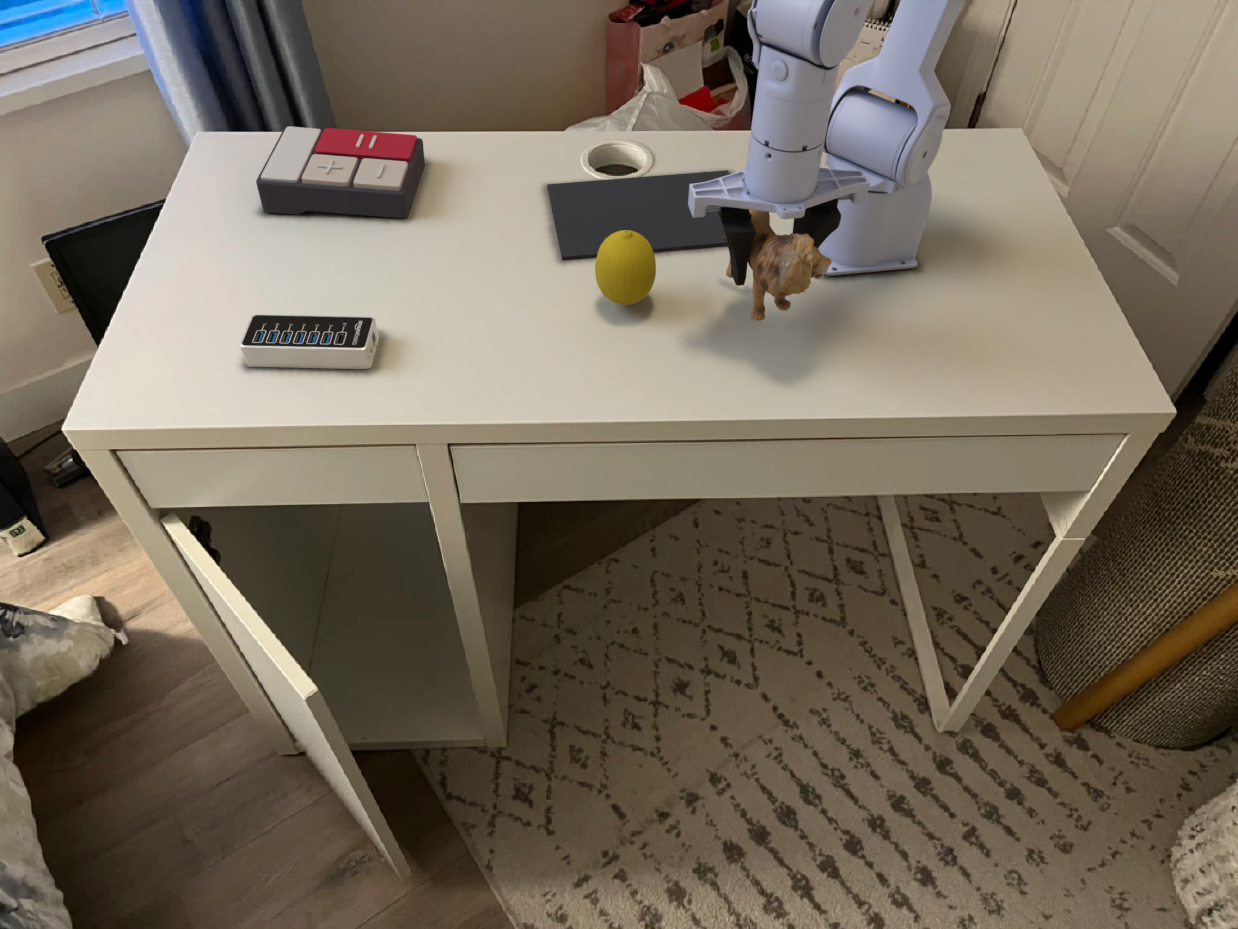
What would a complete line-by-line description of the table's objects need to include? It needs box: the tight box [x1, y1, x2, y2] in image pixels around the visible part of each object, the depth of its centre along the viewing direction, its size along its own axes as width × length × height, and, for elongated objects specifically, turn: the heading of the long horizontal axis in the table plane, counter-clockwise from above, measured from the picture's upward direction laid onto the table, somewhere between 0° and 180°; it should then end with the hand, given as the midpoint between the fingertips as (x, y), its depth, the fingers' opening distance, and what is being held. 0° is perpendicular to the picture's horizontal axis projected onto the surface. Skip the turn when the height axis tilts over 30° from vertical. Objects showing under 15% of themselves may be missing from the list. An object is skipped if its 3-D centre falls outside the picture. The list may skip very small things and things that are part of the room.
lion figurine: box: [722, 209, 832, 322], centre depth 80 cm, size 15×5×9 cm, turn 23°
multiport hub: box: [239, 314, 380, 370], centre depth 83 cm, size 4×11×2 cm, turn 89°
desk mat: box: [546, 169, 731, 261], centre depth 98 cm, size 20×13×1 cm, turn 99°
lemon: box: [594, 230, 657, 306], centre depth 86 cm, size 6×6×8 cm
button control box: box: [255, 126, 426, 219], centre depth 99 cm, size 11×4×15 cm
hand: (765, 275), depth 82 cm, fingers closed on lion figurine, 4 cm apart
